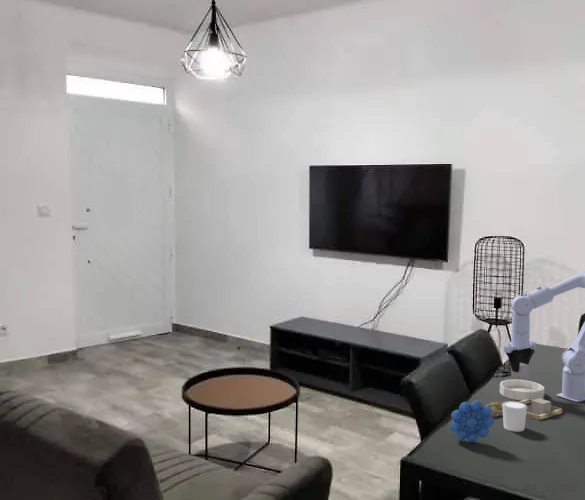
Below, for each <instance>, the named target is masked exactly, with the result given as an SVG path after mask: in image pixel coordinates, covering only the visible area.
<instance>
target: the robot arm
mask: <svg viewBox="0 0 585 500" xmlns="http://www.w3.org/2000/svg"><path fill="white" fill-rule="evenodd" d="M577 288H580V289H581V288H583V289H585V271H581V272H578V273H576V274H574V275H572V276H570V277H568V278H566V279H564V280H562V281H560V282H558V283H556V284H553V285H552V286H550V287H548V286H545V285H544V286H540V285H539V286H536V287H535V289H534V290H532V291H529V292H523V293H522V295H517V296H515V297H514V298H513V299H512V300H511V303H510V307H511V309H512V313H511V314H512V318H511V339H510V340H511V341H509V342H508V344H507V345H505V346H504V347H503V352H504V353H505V355H506V356H507V358H508V361H509V364H510V369H511V368H512V371H514V372H518V371H519V366H520V363H524V364H528V365H529V364H530V361H531V359H532V357H533V356H534V354H535V349H533V348H536V345H537V342H536V341H533V340H530V336H531V335H530V334H531V333H530V331H531V330H530V328H531V327H530V325H531V319H530V318H531V317H530V316H531V313H532V312H533V310H535V309H537V308H539V307H542V306H545V305H547V304H549V303H552V302H553V301H554V298H555V297H556V296H558V295H561V294H564V293H567V292H569V291H571V290H574V289H577ZM561 361H562V363H563V364H564V365H563V366H564V367H563V368H562V377H561V378H562V383H561V392H560V393H557V394H556V395H555V396H556V397H560V398H563V399H566V400H569V401H572V402H576V403H580V402H583V401H585V321H584V322H583V324H582V326H581V328H580V330H579V332H578V334H577V336H576V338H575V340H574V341H573V342H572V343H571V344H570V345H569V347H568V348H567V349H566V350H565V351H563V352H562V354H561Z"/></svg>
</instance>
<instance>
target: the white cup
mask: <svg viewBox="0 0 585 500" xmlns="http://www.w3.org/2000/svg"><path fill="white" fill-rule="evenodd" d="M502 408H503V416H502V419H503V428H504V430H507V431H510V432H517V433H519V432H523V431H525V428H526V427H525V426H526V419H527V418H526V417H527V416H526V412H528V411H527V410H528V405H527V404H523V403H520V402H518V401H516V400H514V401H513V400H511V401H510V400H508V401H504V402H502Z"/></svg>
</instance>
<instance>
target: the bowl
mask: <svg viewBox="0 0 585 500" xmlns="http://www.w3.org/2000/svg"><path fill="white" fill-rule="evenodd" d="M499 393H500V395H502V396H503V397H504V398H508V399H511V400H514V401H516V400H517V401H522V400H526V399H533V400H535V399H538V398H541V399H544V398H545V386H543V385H542V384H540V383H538V382H535V381H531V380H525V379H506V380H505V379H504V380H502V381H501V382H500V383H499Z"/></svg>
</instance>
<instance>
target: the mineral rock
mask: <svg viewBox="0 0 585 500" xmlns="http://www.w3.org/2000/svg"><path fill="white" fill-rule="evenodd" d="M502 404H503V402H501V401H497V400H495V401H491V402H488V403H486V404H484V405H482V407H484V406H489V407H490V408H491V410H492V412H491V414H490V417H492V418H493V419H494V418H497V417H499V416H502V417H503V408H502Z"/></svg>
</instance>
